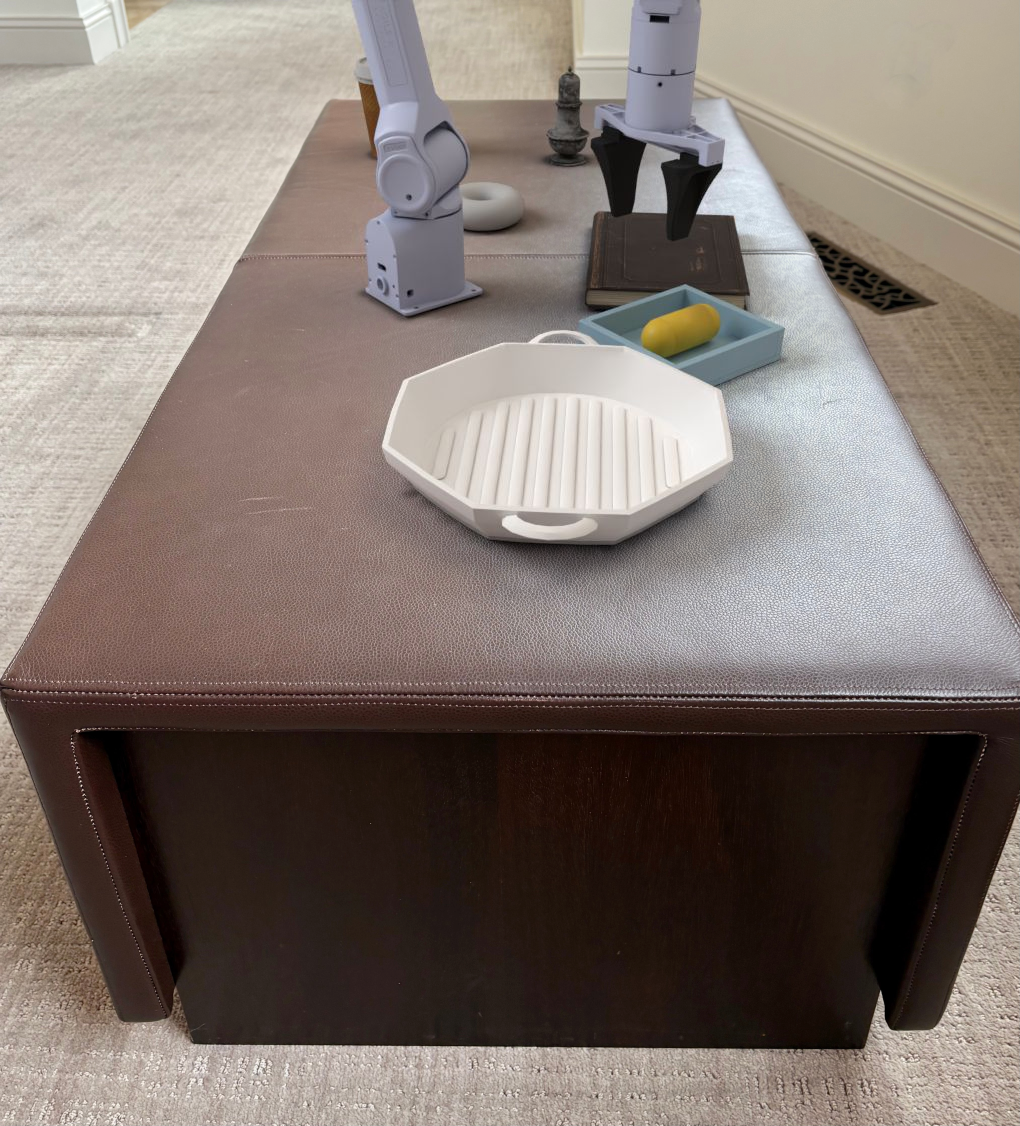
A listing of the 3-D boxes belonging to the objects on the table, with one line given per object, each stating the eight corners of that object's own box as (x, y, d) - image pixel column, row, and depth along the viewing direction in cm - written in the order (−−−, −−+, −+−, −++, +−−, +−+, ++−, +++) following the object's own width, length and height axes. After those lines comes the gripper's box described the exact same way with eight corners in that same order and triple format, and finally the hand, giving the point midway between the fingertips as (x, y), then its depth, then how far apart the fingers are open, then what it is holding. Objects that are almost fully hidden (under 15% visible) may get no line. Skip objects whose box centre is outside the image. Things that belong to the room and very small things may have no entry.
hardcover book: (731, 235, 123) (733, 215, 122) (746, 315, 105) (750, 292, 103) (592, 230, 124) (593, 210, 123) (583, 309, 106) (584, 286, 104)
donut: (521, 237, 123) (528, 206, 131) (521, 208, 121) (528, 178, 128) (435, 234, 124) (447, 204, 131) (433, 205, 121) (446, 176, 129)
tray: (672, 403, 91) (676, 370, 89) (577, 351, 99) (578, 320, 97) (780, 359, 97) (785, 327, 96) (682, 313, 105) (685, 284, 104)
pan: (422, 369, 96) (419, 323, 93) (707, 378, 95) (712, 332, 92) (357, 580, 71) (351, 527, 69) (741, 597, 70) (750, 543, 67)
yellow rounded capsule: (658, 369, 95) (662, 331, 93) (631, 354, 97) (634, 317, 95) (726, 343, 99) (731, 306, 97) (698, 329, 101) (702, 293, 99)
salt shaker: (538, 157, 147) (539, 63, 140) (576, 151, 149) (579, 58, 142) (557, 169, 143) (560, 72, 135) (596, 163, 145) (600, 68, 137)
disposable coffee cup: (350, 149, 150) (342, 57, 143) (412, 140, 153) (407, 49, 146) (376, 168, 143) (368, 72, 136) (440, 157, 147) (436, 63, 139)
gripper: (758, 77, 88) (736, 239, 96) (638, 46, 97) (628, 196, 105) (696, 90, 84) (680, 256, 93) (579, 57, 94) (573, 211, 102)
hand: (649, 226), depth 99 cm, fingers open, 7 cm apart
